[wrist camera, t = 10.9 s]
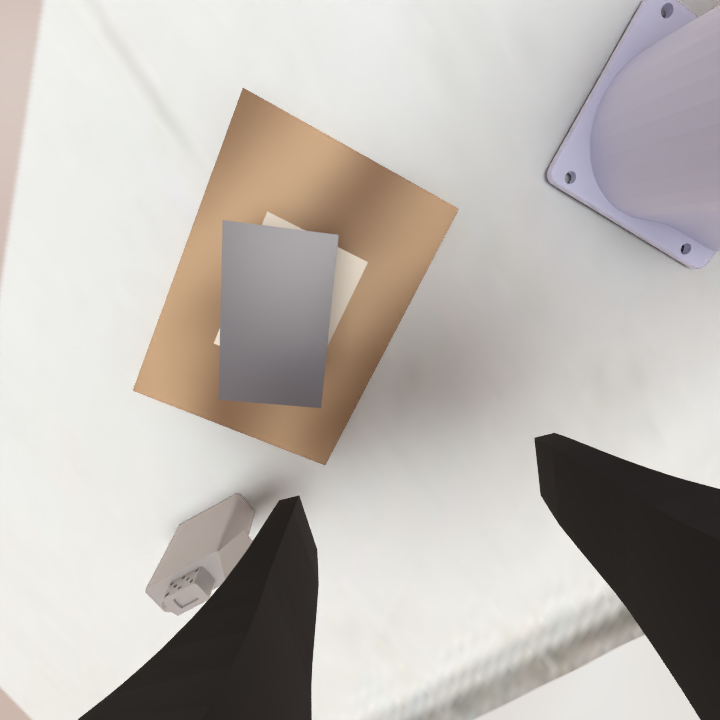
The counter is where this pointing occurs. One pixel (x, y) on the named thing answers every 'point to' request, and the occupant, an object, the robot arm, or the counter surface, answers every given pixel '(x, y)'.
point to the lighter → (202, 555)
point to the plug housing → (275, 313)
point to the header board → (351, 281)
